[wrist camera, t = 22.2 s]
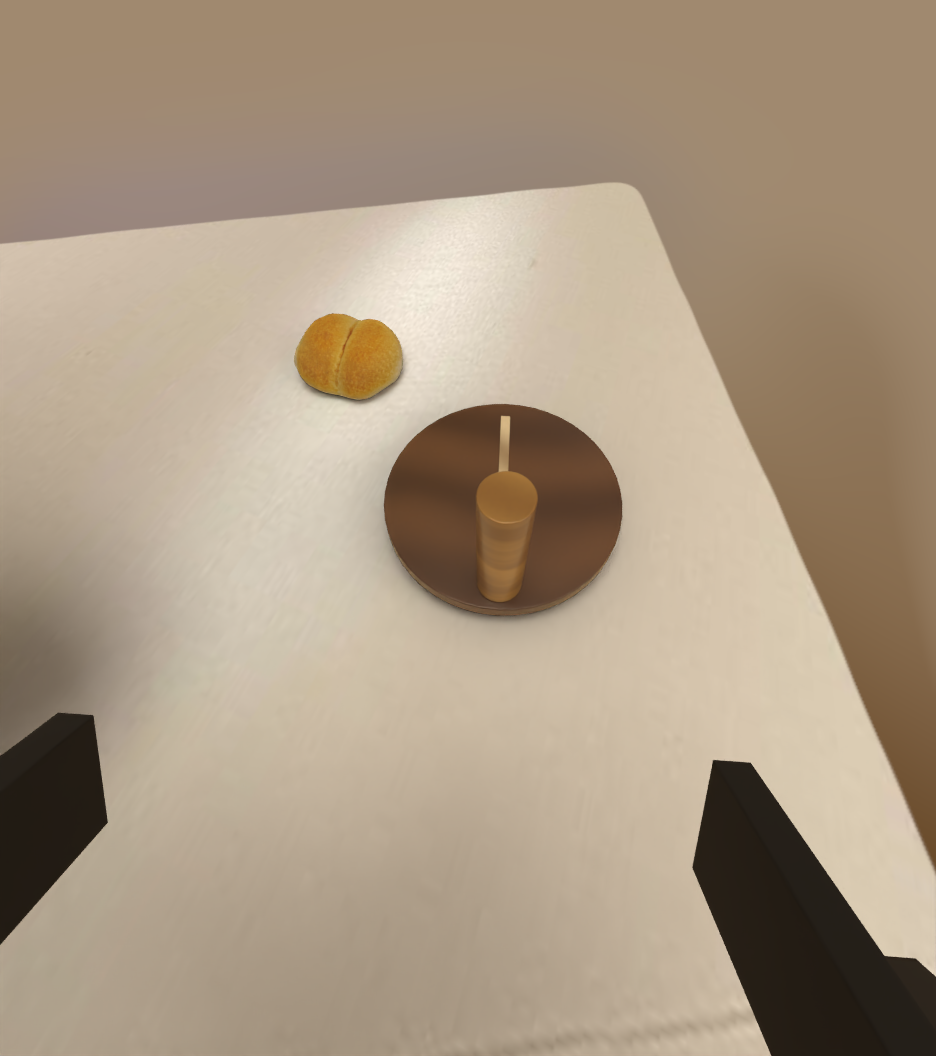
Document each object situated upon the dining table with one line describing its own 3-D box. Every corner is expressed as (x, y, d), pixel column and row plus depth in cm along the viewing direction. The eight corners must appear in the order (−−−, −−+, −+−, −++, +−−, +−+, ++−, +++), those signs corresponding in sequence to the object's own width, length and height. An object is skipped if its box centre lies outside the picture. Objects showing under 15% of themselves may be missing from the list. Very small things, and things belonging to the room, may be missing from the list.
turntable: (400, 409, 44) (375, 280, 34) (611, 417, 44) (655, 288, 33) (370, 608, 37) (325, 524, 26) (626, 622, 36) (690, 542, 25)
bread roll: (388, 411, 46) (380, 378, 42) (290, 391, 47) (274, 357, 44) (417, 341, 50) (413, 305, 46) (325, 324, 51) (314, 287, 47)
